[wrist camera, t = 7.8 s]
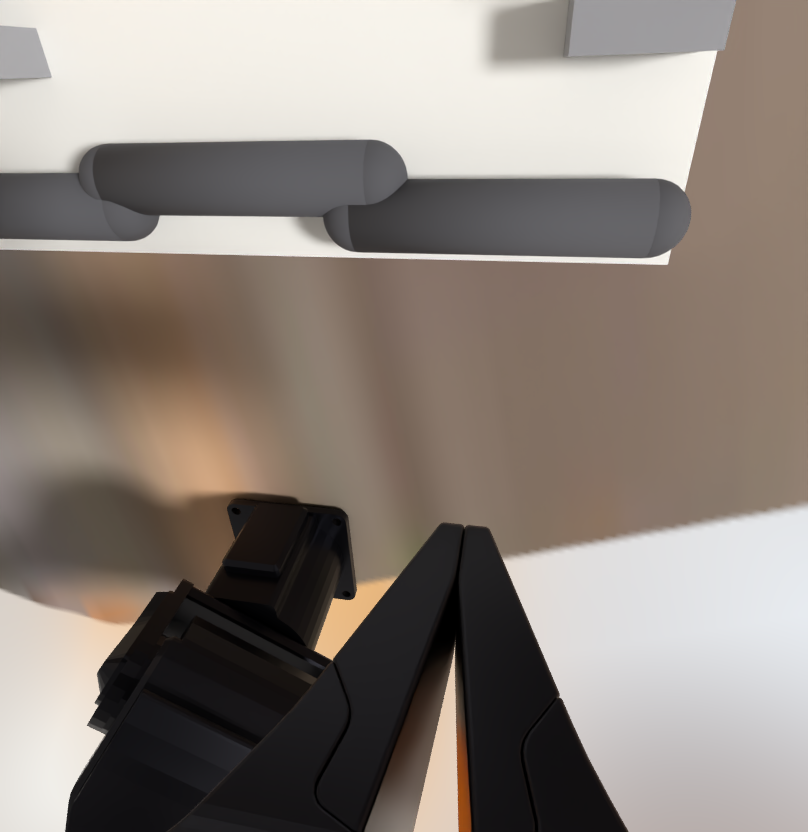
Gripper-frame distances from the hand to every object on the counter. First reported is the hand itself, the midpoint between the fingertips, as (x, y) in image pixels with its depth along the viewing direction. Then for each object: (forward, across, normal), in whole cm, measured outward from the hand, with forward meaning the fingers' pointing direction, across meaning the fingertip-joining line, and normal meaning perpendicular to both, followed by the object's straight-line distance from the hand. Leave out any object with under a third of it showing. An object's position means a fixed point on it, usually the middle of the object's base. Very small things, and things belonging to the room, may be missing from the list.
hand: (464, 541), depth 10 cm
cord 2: (+10, +7, -4) cm, 13 cm away
